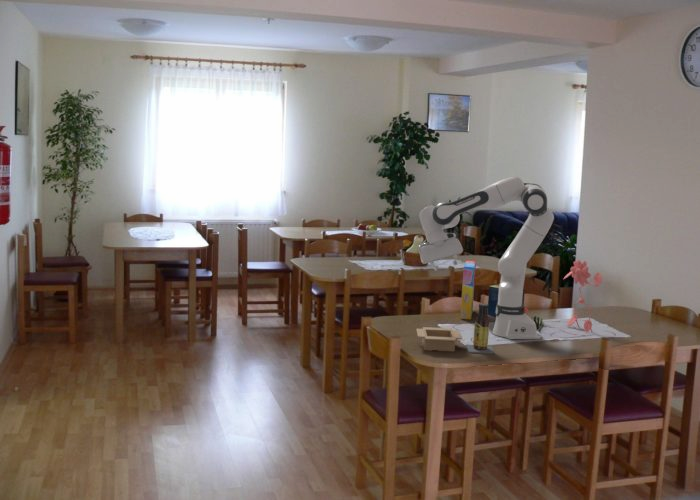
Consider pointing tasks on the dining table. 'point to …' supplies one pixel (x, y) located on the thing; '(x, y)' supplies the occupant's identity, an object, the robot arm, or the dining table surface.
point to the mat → (474, 350)
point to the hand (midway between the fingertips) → (446, 267)
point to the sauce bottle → (481, 328)
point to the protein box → (496, 299)
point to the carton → (439, 338)
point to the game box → (468, 290)
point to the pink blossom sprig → (581, 274)
